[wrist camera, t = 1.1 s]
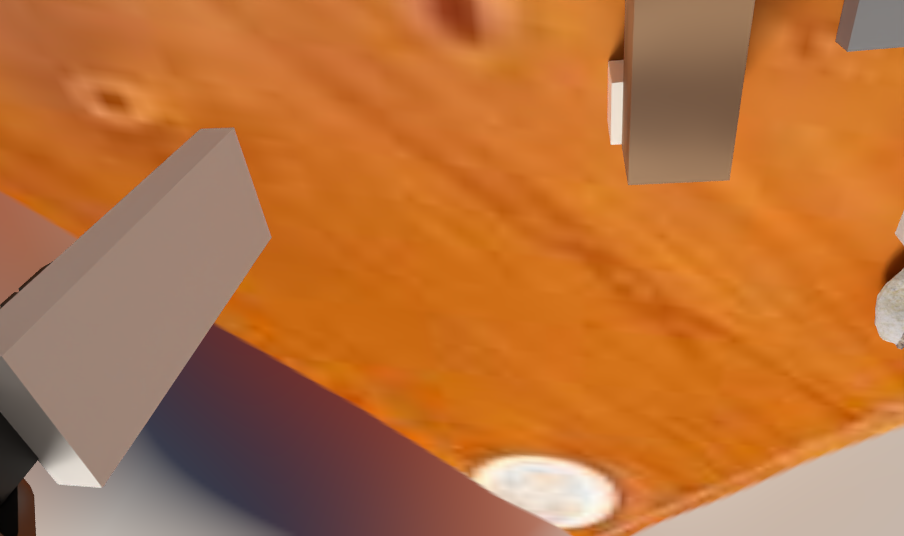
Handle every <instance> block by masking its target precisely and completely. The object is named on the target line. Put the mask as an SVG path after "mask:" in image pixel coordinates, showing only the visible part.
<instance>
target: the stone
mask: <svg viewBox="0 0 904 536" xmlns="http://www.w3.org/2000/svg"><path fill="white" fill-rule="evenodd" d="M875 325H876V327H877V330H878V333H879V335H880V337H881V338H882V339H883V340H885V341H888V342H892V343H894V344H896V346H897V348H899V349H902V348H904V268H903V269H902V270H901V271H900V272H899V273H898V274H896V275H895V276H894V277H893V278H892V279H891V280H890V281H888V282H887V283H886V284H885V285H884V287H883V288H882V290H881V292H880V293H879V294H878V296H877V301H876V307H875Z"/></svg>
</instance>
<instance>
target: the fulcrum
mask: <svg viewBox="0 0 904 536" xmlns="http://www.w3.org/2000/svg"><path fill="white" fill-rule="evenodd" d="M836 42H837V43H838V44H839V45H840V46H841V47H843V48H844V49H845V50H846V51H847V52H849V51H861V50H873V49H885V48H897V47H904V0H844V5H843V9H842V14H841V18H840V23H839V27H838V32H837V36H836Z"/></svg>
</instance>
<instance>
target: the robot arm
mask: <svg viewBox="0 0 904 536" xmlns="http://www.w3.org/2000/svg"><path fill="white" fill-rule="evenodd" d="M895 234H896V236H897V237H898V238H899V240H900V241H901V242H902V244H903V245H904V212H903V214H902V217H901V220H900V222H899V225H898V227H897V230H896V232H895ZM270 239H271V235H270V232H269V229H268V226H267V223H266V220H265V217H264V214H263V212H262V209H261V206H260V203H259V200H258V197H257V194H256V191H255V188H254V185H253V182H252V179H251V176H250V173H249V170H248V168H247V165H246V162H245V159H244V156H243V153H242V150H241V147H240V144H239V141H238V138H237V135H236V132H235V129H234V128H213V129H200V130H199V131H198V132H197V133H195V134H194V135H193V136H192V137H191V138H190V139H189V140H188V141H187V142H185V143H184V144H183V145H182V146H181V147H180V148H179V149H178V150H177V151H175V152H174V153H173V154H172V155H171V156H170V157H169V158H168V159H167V160H165V161H164V162H163V163H162V164H161V165H160V166H159V167H158V168H156V169H155V170H154V171H153V172H152V173H151V174H150V175H149V176H148V177H146V178H145V179H144V180H143V181H142V182H141V183H140V184H139V185H138V186H136V187H135V188H134V189H133V190H132V191H131V192H130V193H129V194H128V195H126V196H125V197H124V198H123V199H122V200H121V201H120V202H119V203H118V204H116V205H115V206H114V207H113V208H112V209H111V210H110V211H109V212H108V213H106V214H105V215H104V216H103V217H102V218H101V219H100V220H99V221H98V222H96V223H95V224H94V225H93V226H92V227H91V228H90V229H89V230H88V231H86V232H85V233H84V234H83V235H82V236H81V237H80V238H79V239H78V240H76V241H75V242H74V243H73V244H72V245H71V246H70V247H69V248H68V249H66V250H65V251H64V252H63V253H62V254H61V255H60V256H59V257H58V258H56V259H55V260H54V261H53V262H51V263H49V264H48V265H46V266H44V267H43V268H41V269H40V270H39V271H38V272H36V273H35V274H34V275H33V276H32V277H31V278H30V279H29V280H28V281H27V282H25V283H24V284H23V285H22V286H21V287H20V288H19V292H18V293H17V292H14V293H13V294H12V295H11V296H10V297H8V298H7V299H6V300H5V301H4V302H3V303H2V304H1V305H0V306H1V308H0V536H36V528H35V507H34V506H35V505H34V494H33V492H32V489H31V487H30V485H29V484H28V483H27V482H26V481H25V479H24V477H25V475H26V474H27V473H28V472H29V470H30V469H31V468H32V467H33V465H34V464H35V463H36V462H37V460H38V461H39V462H40V463H41V464H42V466H43V467H44V468H45V469H46V470H47V472H48V473H49V474H50V475H51V476H52V478H53V479H54V480H55V481H56V482H57V484H60V485H73V486H85V487H98V488H103V486H104V485H105V483H106V482H107V480H108V479H109V477H110V476H111V474H112V473H113V472H114V470H115V469H116V467H117V466H118V464H119V462H120V461H121V460H122V458H123V457H124V455H125V454H126V452H127V451H128V449H129V448H130V446H131V445H132V443H133V442H134V440H135V439H136V437H137V436H138V434H139V433H140V431H141V430H142V429H143V427H144V426H145V424H146V423H147V421H148V420H149V418H150V417H151V415H152V414H153V412H154V411H155V409H156V408H157V406H158V405H159V403H160V402H161V400H162V399H163V397H164V396H165V394H166V393H167V391H168V390H169V388H170V387H171V386H172V384H173V383H174V381H175V380H176V378H177V377H178V375H179V374H180V372H181V371H182V369H183V368H184V366H185V365H186V363H187V362H188V360H189V359H190V357H191V356H192V354H193V353H194V351H195V350H196V348H197V347H198V345H199V344H200V342H201V341H202V339H203V338H204V337H205V335H206V333H207V332H208V331H209V329H210V328H211V326H212V325H213V323H214V322H215V320H216V319H217V317H218V316H219V314H220V313H221V311H222V310H223V308H224V307H225V305H226V304H227V302H228V301H229V299H230V298H231V296H232V295H233V294H234V292H235V291H236V289H237V288H238V286H239V285H240V283H241V282H242V280H243V279H244V277H245V276H246V274H247V273H248V271H249V270H250V268H251V267H252V265H253V264H254V262H255V261H256V259H257V258H258V256H259V255H260V253H261V252H262V251H263V249H264V248H265V246H266V245H267V243H268V242H269V240H270Z"/></svg>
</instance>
